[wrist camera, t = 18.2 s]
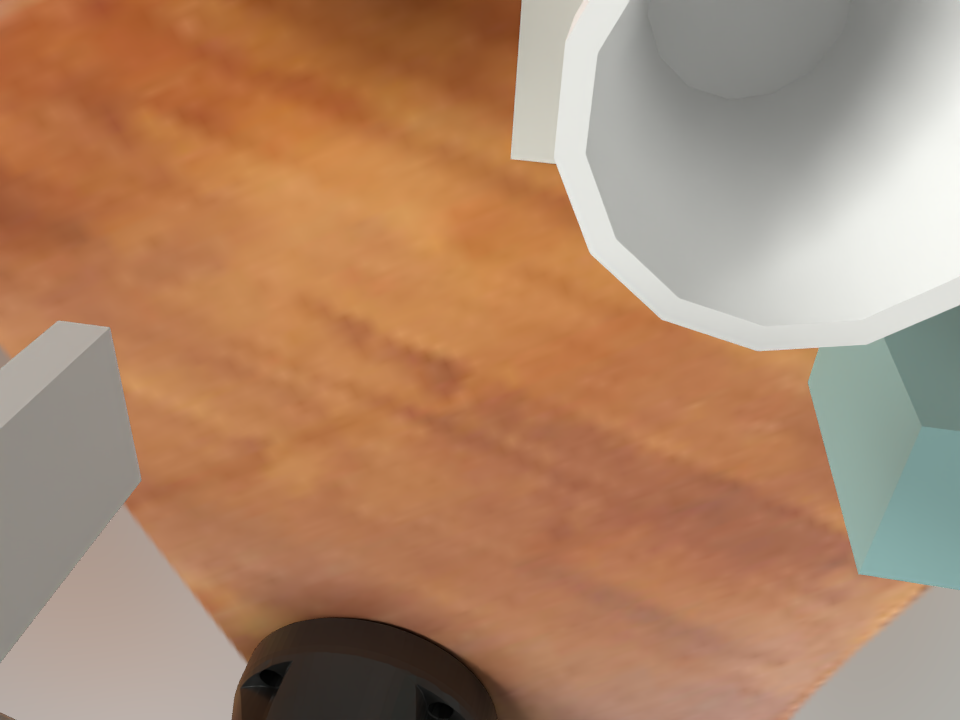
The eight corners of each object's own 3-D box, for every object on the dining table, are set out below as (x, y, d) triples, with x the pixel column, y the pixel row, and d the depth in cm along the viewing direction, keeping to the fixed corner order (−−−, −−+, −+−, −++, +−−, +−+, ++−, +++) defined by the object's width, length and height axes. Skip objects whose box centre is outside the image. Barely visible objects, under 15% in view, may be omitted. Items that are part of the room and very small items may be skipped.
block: (807, 382, 33) (858, 573, 25) (848, 256, 30) (921, 426, 22) (955, 402, 32) (1058, 605, 24) (1012, 275, 29) (1152, 457, 21)
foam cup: (932, -221, 22) (1202, -252, 11) (902, 125, 27) (1073, 332, 16) (574, -149, 24) (517, -118, 14) (605, 158, 29) (580, 361, 18)
